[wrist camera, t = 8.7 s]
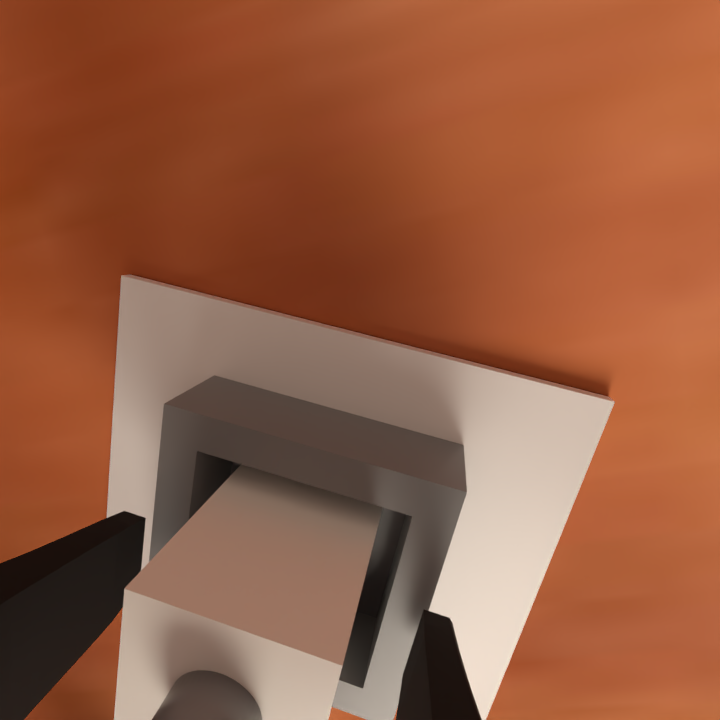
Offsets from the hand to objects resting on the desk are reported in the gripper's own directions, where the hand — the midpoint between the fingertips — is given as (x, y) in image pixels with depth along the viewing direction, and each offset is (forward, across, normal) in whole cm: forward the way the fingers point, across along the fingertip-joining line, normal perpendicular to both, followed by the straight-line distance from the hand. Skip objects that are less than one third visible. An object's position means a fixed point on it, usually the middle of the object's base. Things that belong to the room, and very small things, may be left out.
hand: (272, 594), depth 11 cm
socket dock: (+4, 0, 0) cm, 4 cm away
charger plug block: (+3, 0, 0) cm, 3 cm away
